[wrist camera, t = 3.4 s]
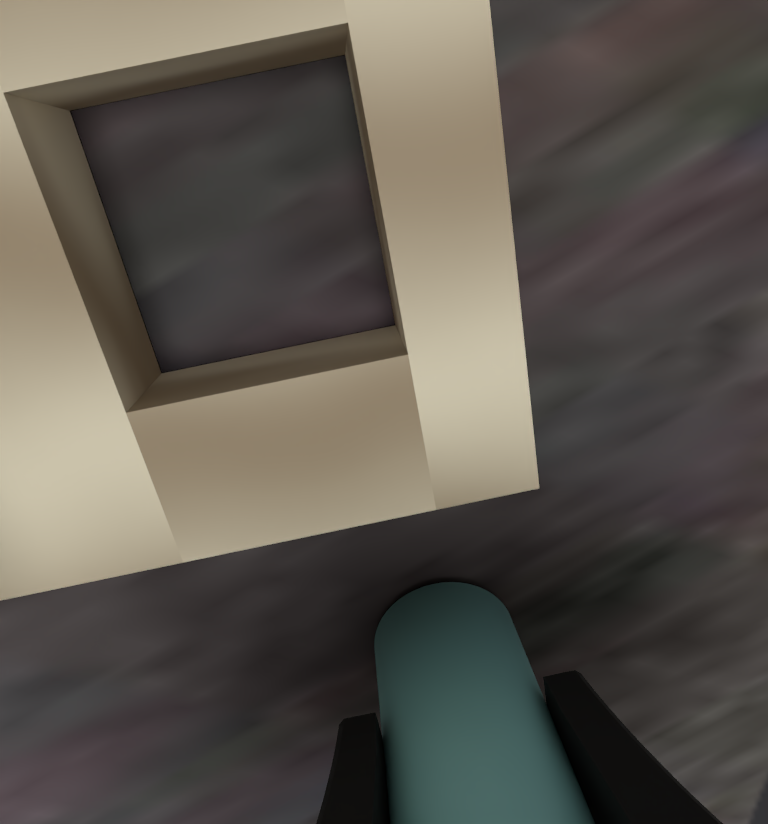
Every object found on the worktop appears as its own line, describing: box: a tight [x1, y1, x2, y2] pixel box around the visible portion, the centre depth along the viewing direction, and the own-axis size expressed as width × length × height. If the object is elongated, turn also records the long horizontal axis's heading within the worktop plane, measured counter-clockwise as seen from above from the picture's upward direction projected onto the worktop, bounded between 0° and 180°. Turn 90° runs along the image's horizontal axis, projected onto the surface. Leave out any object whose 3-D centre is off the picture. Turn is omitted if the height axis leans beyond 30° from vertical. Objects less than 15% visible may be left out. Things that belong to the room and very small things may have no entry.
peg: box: [374, 582, 595, 824], centre depth 10 cm, size 3×3×8 cm
